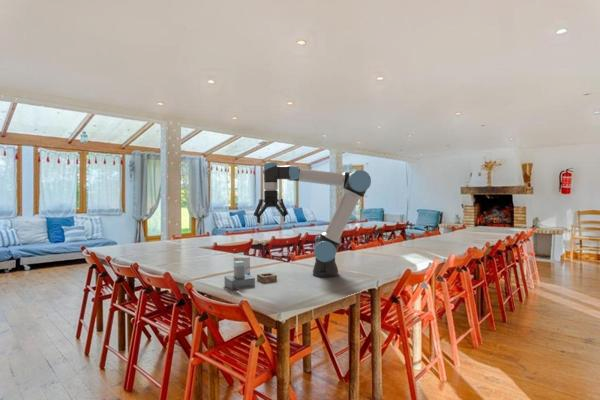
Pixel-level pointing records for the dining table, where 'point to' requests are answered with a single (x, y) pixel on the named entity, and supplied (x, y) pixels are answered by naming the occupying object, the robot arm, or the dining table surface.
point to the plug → (239, 269)
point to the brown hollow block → (266, 277)
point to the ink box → (246, 263)
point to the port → (239, 282)
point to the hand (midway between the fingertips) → (271, 228)
